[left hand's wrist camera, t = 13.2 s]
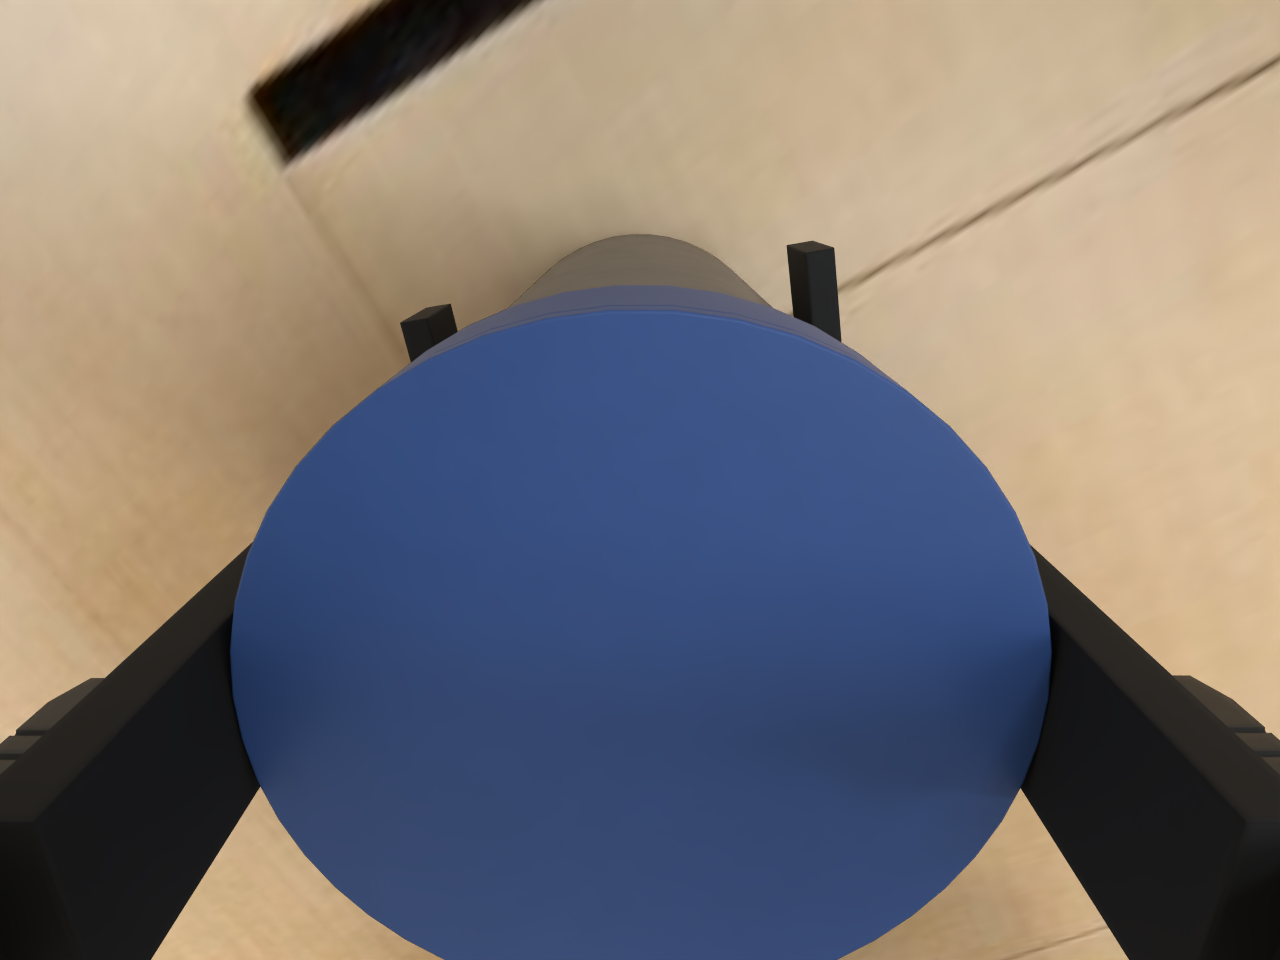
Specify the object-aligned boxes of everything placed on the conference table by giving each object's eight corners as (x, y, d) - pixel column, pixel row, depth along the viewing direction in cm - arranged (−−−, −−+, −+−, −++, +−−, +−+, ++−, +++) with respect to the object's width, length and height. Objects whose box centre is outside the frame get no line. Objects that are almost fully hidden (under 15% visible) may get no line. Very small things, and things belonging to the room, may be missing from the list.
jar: (523, 503, 31) (350, 973, 13) (491, 243, 28) (186, 363, 9) (773, 489, 31) (975, 945, 12) (773, 224, 28) (1052, 308, 9)
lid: (369, 894, 15) (323, 1017, 12) (225, 310, 11) (121, 341, 9) (952, 866, 14) (1007, 987, 12) (1015, 259, 11) (1112, 277, 8)
